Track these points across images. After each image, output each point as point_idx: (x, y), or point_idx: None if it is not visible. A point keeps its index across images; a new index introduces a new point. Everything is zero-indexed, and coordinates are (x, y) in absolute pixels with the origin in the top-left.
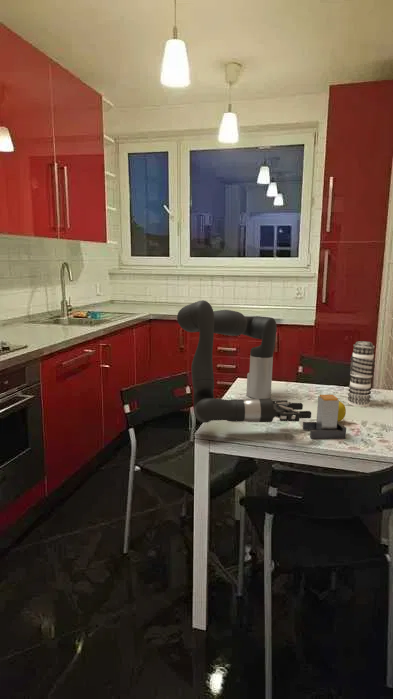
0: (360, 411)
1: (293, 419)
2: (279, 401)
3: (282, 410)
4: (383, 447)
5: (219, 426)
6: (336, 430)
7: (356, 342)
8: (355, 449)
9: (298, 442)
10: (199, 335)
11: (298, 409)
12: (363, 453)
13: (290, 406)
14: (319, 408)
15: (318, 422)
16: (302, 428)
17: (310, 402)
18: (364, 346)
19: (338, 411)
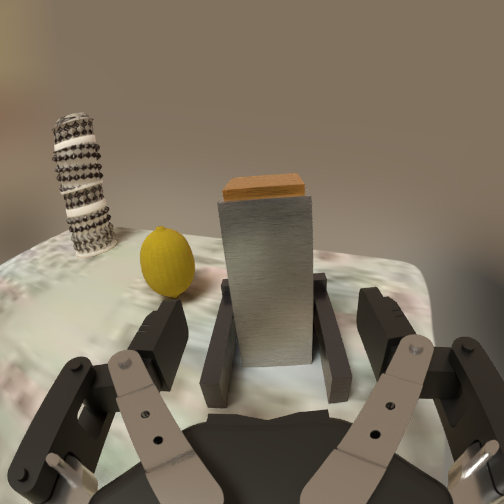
0: (132, 252)
1: (461, 409)
2: (62, 421)
3: (422, 483)
4: (368, 260)
5: None
6: (321, 301)
7: (58, 120)
8: (407, 299)
9: (404, 455)
10: None
11: (182, 351)
12: (426, 290)
13: (155, 379)
14: (259, 261)
15: (265, 327)
16: (207, 406)
17: (27, 302)
18: (81, 117)
19: (188, 257)
